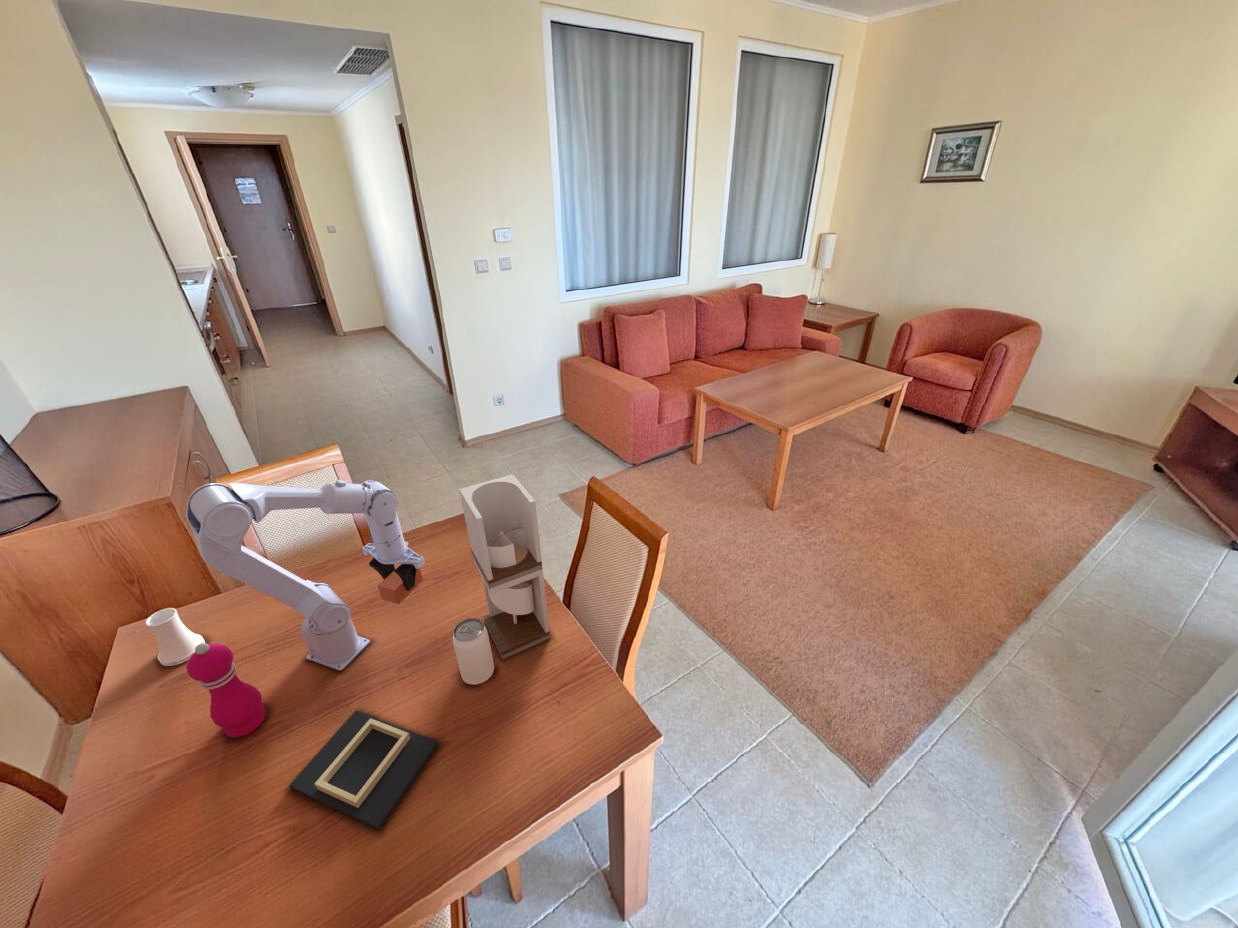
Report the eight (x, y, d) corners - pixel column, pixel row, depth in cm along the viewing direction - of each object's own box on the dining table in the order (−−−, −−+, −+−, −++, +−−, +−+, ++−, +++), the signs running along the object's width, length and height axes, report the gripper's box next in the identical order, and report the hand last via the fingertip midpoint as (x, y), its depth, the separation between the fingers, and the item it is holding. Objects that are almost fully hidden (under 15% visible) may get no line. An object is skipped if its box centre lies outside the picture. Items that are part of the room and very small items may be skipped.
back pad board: (290, 788, 80) (285, 780, 79) (357, 713, 91) (353, 704, 90) (379, 830, 74) (375, 822, 73) (438, 744, 86) (436, 735, 85)
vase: (160, 672, 100) (136, 637, 95) (159, 649, 105) (136, 615, 100) (206, 652, 104) (186, 617, 99) (203, 631, 109) (183, 597, 104)
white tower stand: (485, 623, 110) (459, 489, 93) (530, 604, 115) (513, 474, 98) (502, 659, 101) (477, 518, 85) (550, 637, 106) (535, 501, 89)
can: (486, 688, 95) (476, 645, 90) (455, 683, 97) (444, 639, 91) (499, 661, 101) (491, 618, 95) (470, 656, 102) (460, 613, 96)
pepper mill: (278, 710, 92) (237, 633, 82) (241, 746, 86) (192, 668, 76) (250, 698, 94) (206, 623, 84) (212, 733, 88) (160, 656, 78)
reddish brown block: (381, 599, 108) (377, 585, 106) (406, 575, 115) (403, 562, 113) (398, 604, 107) (394, 590, 105) (423, 580, 113) (419, 566, 111)
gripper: (428, 531, 105) (440, 580, 111) (373, 518, 109) (388, 566, 115) (405, 551, 99) (419, 601, 105) (348, 537, 103) (365, 586, 110)
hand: (401, 584), depth 110 cm, fingers closed on reddish brown block, 4 cm apart
